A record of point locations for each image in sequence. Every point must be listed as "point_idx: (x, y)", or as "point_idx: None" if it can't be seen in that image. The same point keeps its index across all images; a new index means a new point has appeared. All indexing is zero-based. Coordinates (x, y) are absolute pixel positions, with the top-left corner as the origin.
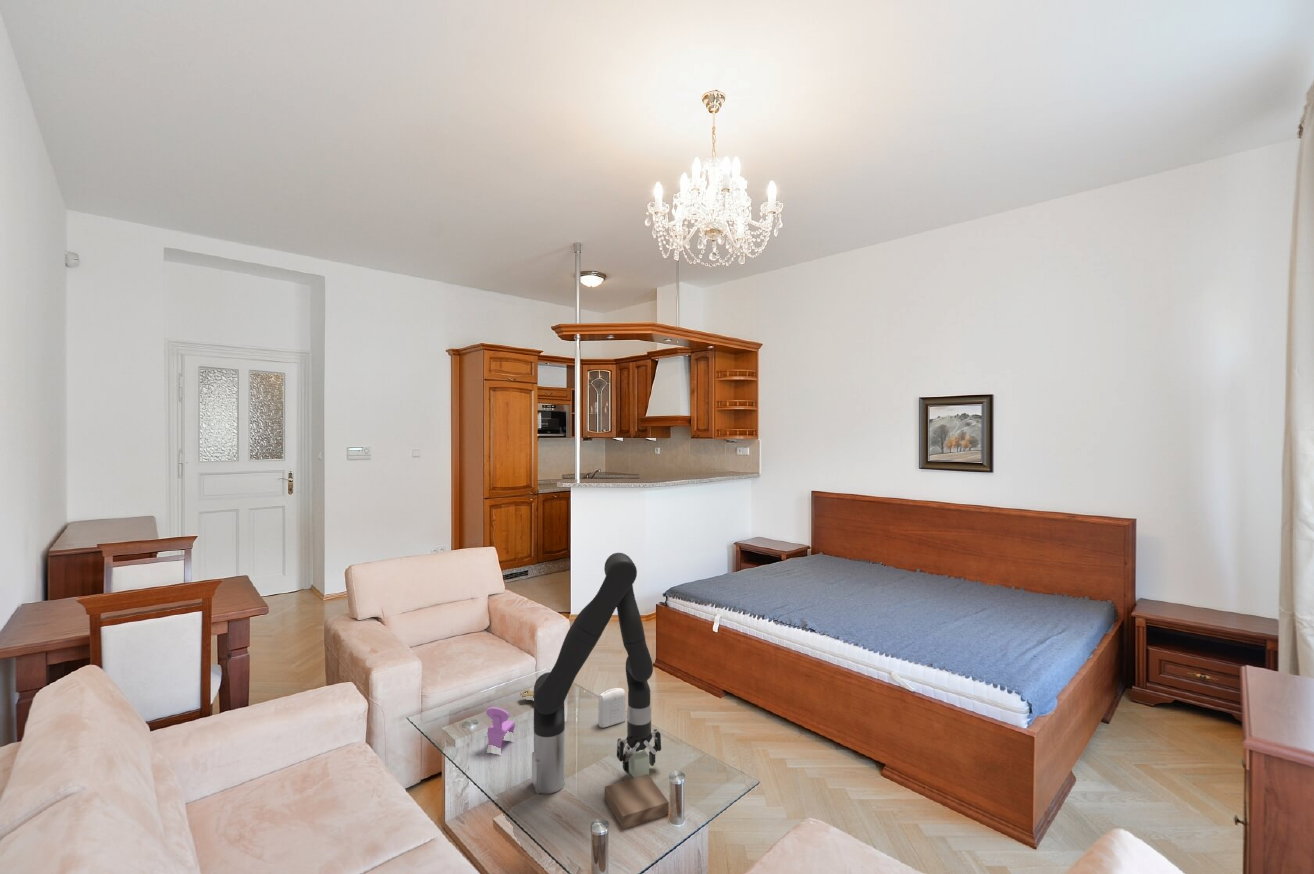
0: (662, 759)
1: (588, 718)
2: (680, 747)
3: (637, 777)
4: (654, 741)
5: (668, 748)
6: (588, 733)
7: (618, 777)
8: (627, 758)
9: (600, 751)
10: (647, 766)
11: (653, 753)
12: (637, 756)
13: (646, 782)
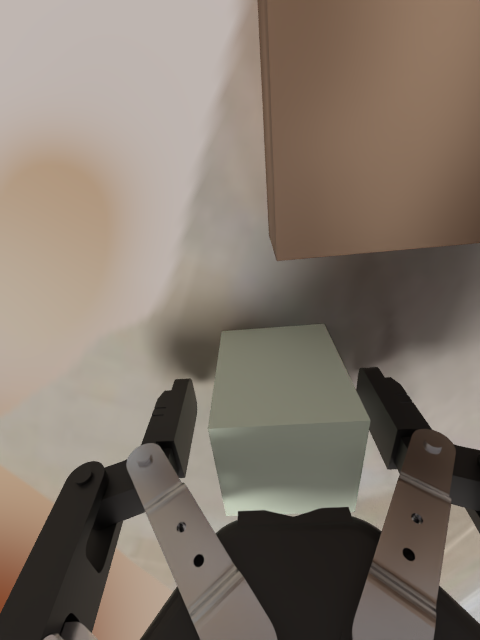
0: (112, 418)
1: None
2: (6, 462)
3: (394, 245)
4: (110, 564)
5: (69, 470)
6: None
7: (402, 364)
8: (431, 455)
9: (371, 522)
10: (231, 366)
11: (156, 450)
12: (314, 454)
13: (356, 115)
